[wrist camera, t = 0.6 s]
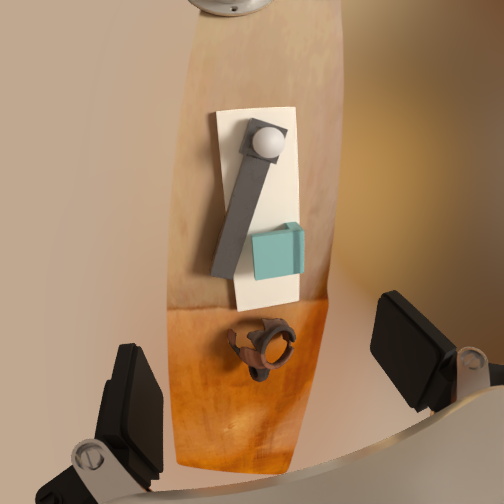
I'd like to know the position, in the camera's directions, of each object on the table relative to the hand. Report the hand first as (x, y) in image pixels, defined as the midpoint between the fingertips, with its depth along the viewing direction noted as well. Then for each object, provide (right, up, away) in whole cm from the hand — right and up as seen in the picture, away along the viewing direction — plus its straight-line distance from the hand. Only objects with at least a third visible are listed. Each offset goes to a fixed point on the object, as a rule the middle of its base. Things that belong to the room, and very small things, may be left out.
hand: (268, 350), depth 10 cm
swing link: (-2, +10, +25) cm, 27 cm away
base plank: (+1, +8, +28) cm, 29 cm away
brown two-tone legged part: (0, -10, +37) cm, 38 cm away
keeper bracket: (+2, +5, +29) cm, 29 cm away
